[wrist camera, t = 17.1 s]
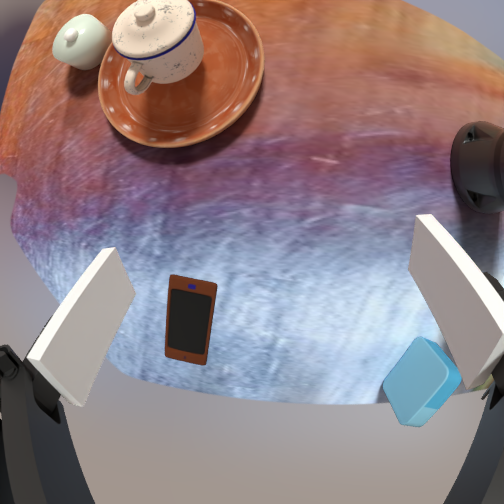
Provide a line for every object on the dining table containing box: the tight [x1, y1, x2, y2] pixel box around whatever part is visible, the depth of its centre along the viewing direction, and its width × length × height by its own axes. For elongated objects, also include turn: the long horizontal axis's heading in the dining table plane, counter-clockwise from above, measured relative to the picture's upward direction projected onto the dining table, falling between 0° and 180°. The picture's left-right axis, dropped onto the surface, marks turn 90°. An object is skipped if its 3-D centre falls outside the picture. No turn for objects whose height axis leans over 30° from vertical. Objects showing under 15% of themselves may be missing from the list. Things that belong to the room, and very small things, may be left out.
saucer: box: [98, 0, 265, 148], centre depth 32 cm, size 23×23×4 cm
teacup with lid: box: [112, 0, 204, 95], centre depth 24 cm, size 12×9×12 cm
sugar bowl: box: [53, 14, 112, 70], centre depth 28 cm, size 8×8×7 cm
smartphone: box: [165, 275, 217, 365], centre depth 43 cm, size 7×1×15 cm
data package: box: [383, 337, 462, 427], centre depth 39 cm, size 12×4×12 cm, turn 155°
